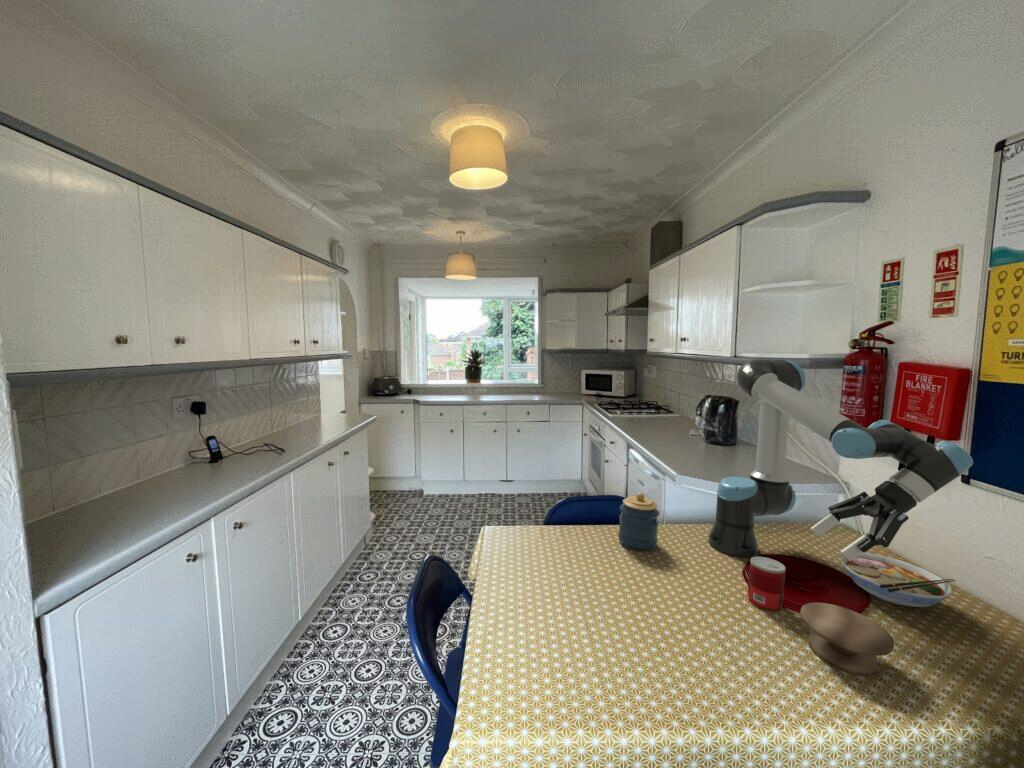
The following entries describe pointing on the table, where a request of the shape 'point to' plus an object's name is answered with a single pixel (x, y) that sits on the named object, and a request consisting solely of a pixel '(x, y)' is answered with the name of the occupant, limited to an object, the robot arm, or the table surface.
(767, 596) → the canned food
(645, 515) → the canister
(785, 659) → the table surface
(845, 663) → the cake stand
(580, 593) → the table surface
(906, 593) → the ramen bowl
